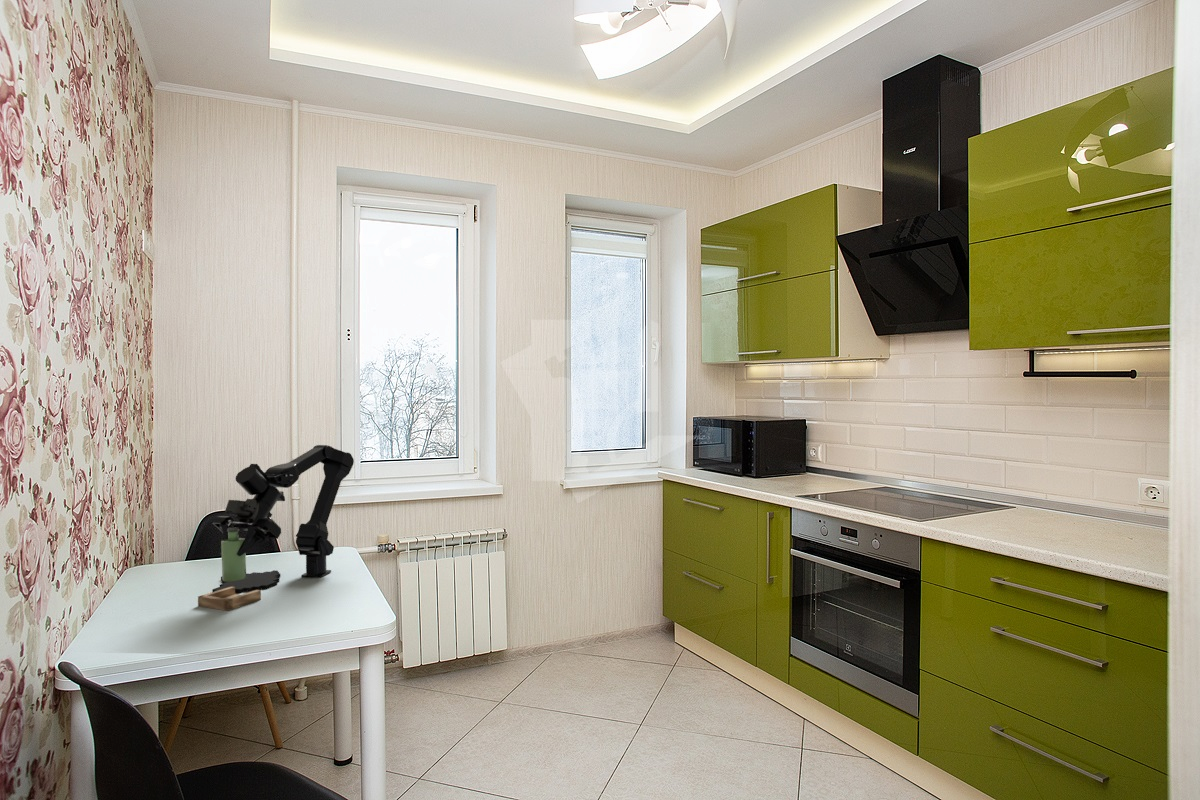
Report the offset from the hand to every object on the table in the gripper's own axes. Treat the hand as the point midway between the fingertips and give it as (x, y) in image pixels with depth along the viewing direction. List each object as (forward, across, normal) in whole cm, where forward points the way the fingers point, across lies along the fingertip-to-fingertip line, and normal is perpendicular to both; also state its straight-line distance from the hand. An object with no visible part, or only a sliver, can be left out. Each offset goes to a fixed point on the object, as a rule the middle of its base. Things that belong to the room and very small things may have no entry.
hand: (229, 554), depth 181 cm
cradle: (+8, -2, +10) cm, 13 cm away
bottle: (+4, 0, +6) cm, 7 cm away
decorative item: (-2, -13, +22) cm, 26 cm away
